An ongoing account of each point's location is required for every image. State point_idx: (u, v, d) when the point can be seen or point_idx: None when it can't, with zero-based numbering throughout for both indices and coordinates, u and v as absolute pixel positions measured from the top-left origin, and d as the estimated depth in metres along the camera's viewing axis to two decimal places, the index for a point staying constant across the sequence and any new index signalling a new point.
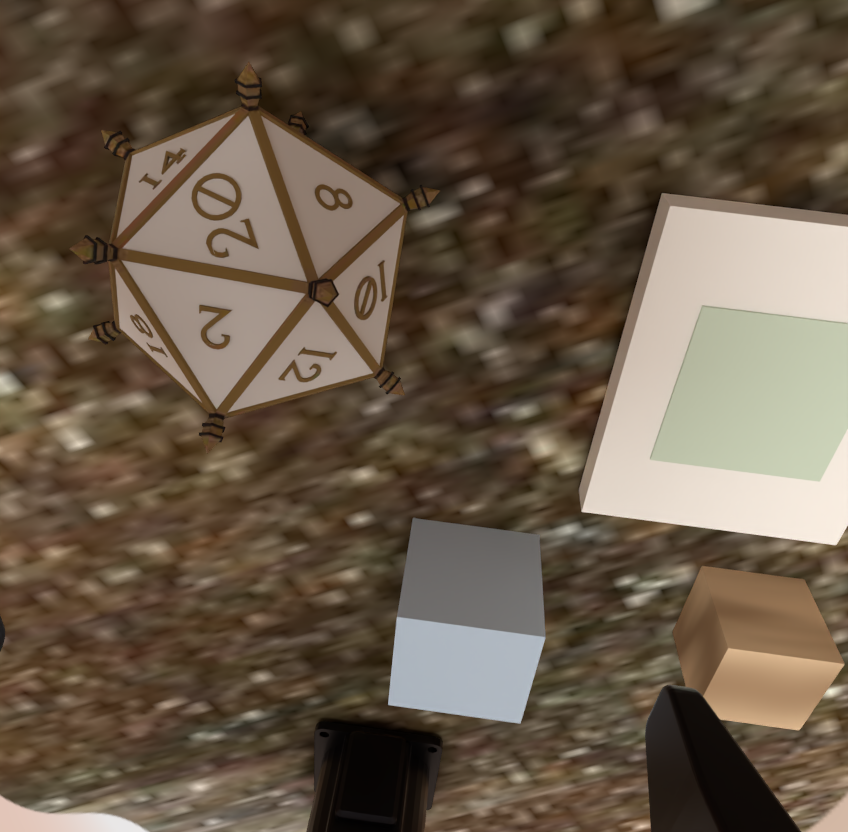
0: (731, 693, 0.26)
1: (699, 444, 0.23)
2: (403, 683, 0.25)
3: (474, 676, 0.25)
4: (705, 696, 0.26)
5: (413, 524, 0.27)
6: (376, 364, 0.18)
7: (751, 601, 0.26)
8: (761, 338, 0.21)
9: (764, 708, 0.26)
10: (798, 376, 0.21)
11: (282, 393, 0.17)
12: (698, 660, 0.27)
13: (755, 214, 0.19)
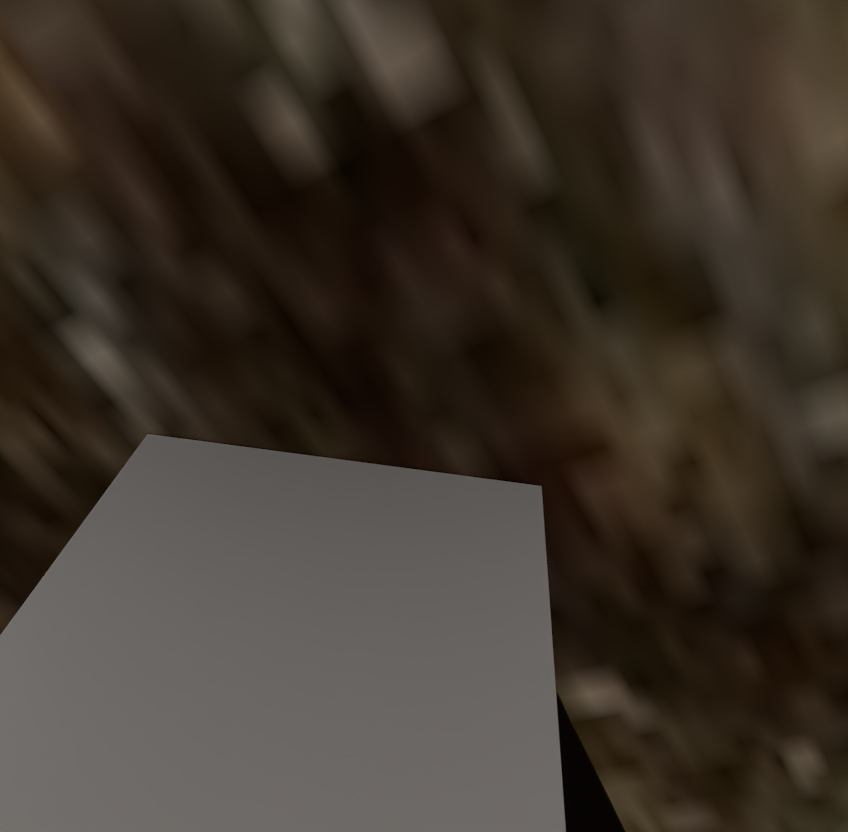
0: None
1: None
2: None
3: None
4: None
5: None
6: None
7: None
8: None
9: None
10: None
11: None
12: None
13: None
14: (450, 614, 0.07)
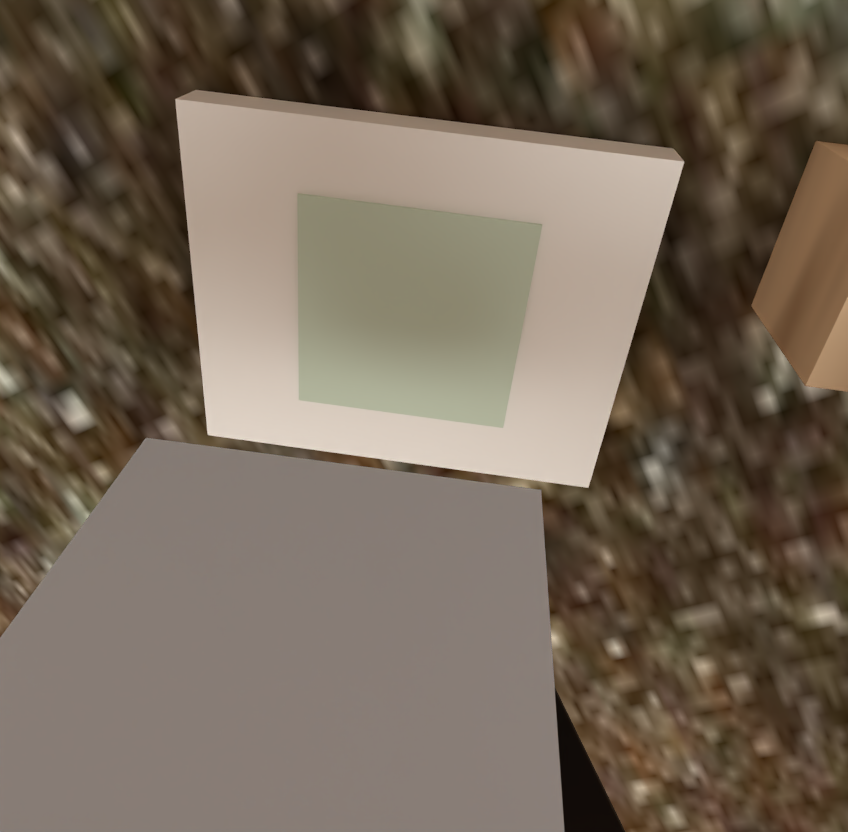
0: None
1: (478, 380, 0.18)
2: None
3: None
4: None
5: None
6: None
7: (795, 274, 0.16)
8: (327, 341, 0.18)
9: None
10: (375, 288, 0.17)
11: None
12: None
13: (202, 363, 0.19)
14: (449, 619, 0.07)
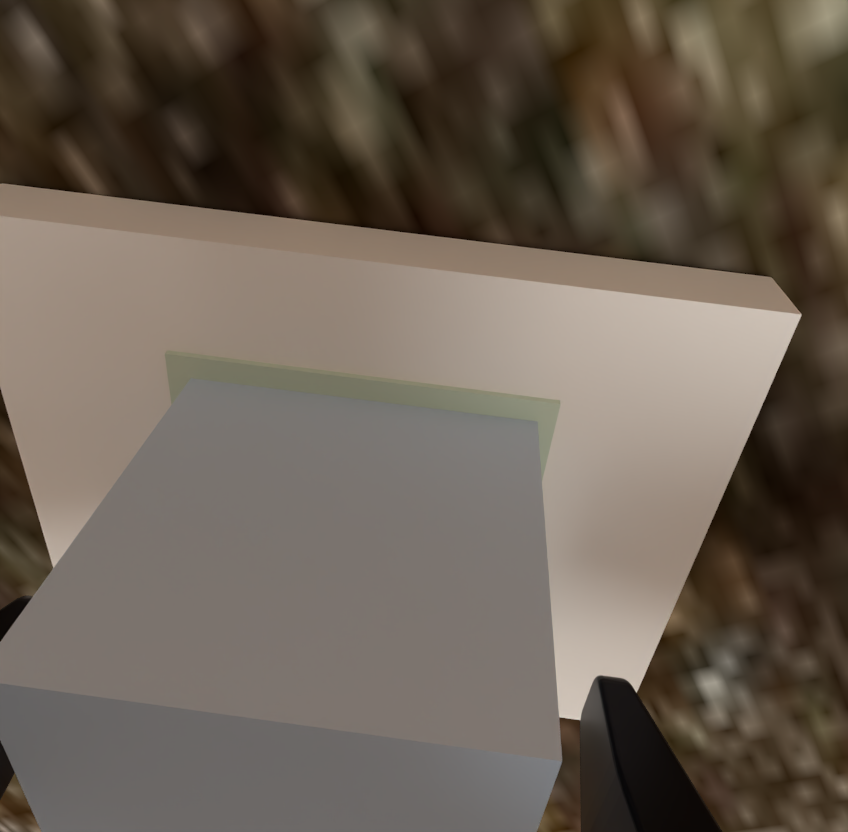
0: None
1: None
2: None
3: None
4: None
5: None
6: None
7: None
8: None
9: None
10: None
11: None
12: None
13: None
14: (459, 517, 0.08)
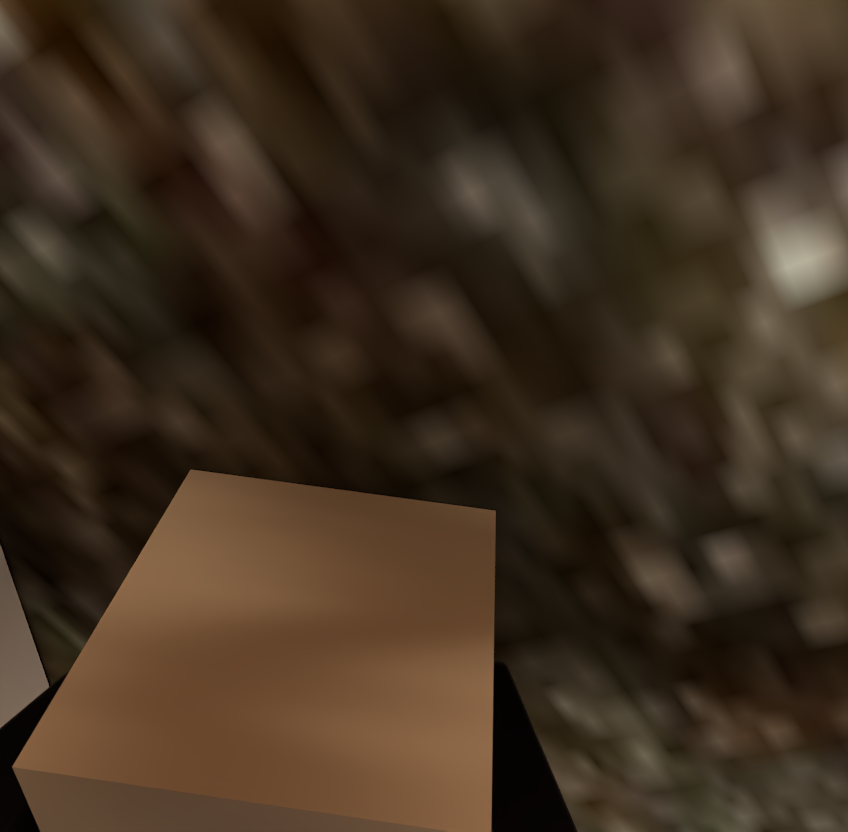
0: None
1: None
2: None
3: None
4: None
5: None
6: None
7: None
8: None
9: None
10: None
11: None
12: None
13: None
14: None
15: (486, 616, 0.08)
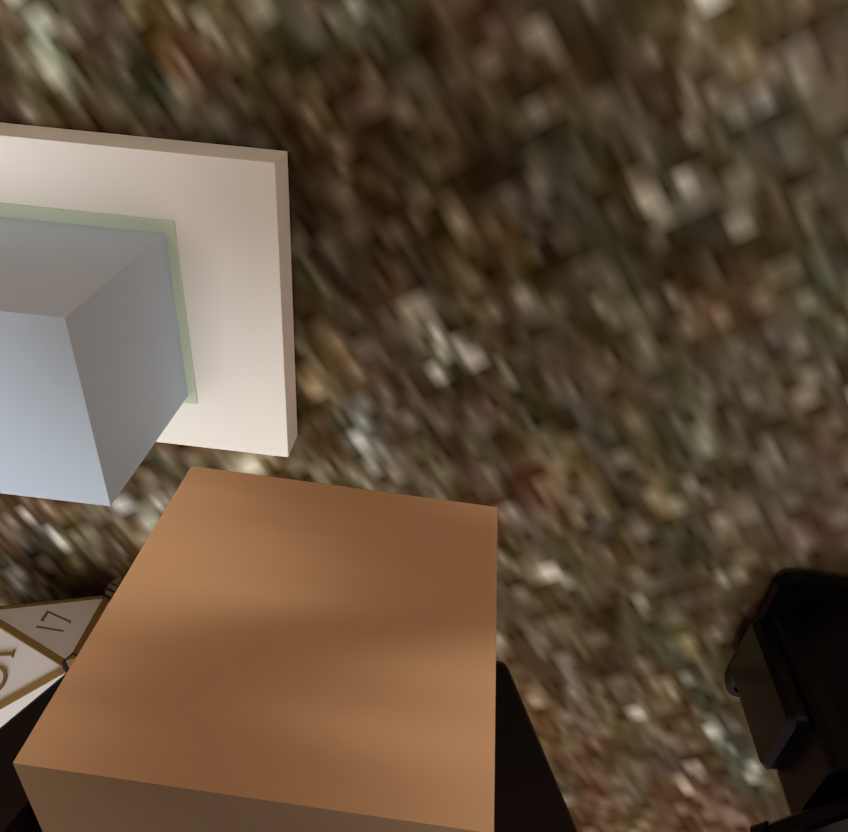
0: None
1: None
2: (47, 483, 0.17)
3: None
4: None
5: None
6: (53, 672, 0.23)
7: None
8: None
9: None
10: None
11: None
12: None
13: None
14: (85, 261, 0.16)
15: (488, 612, 0.08)
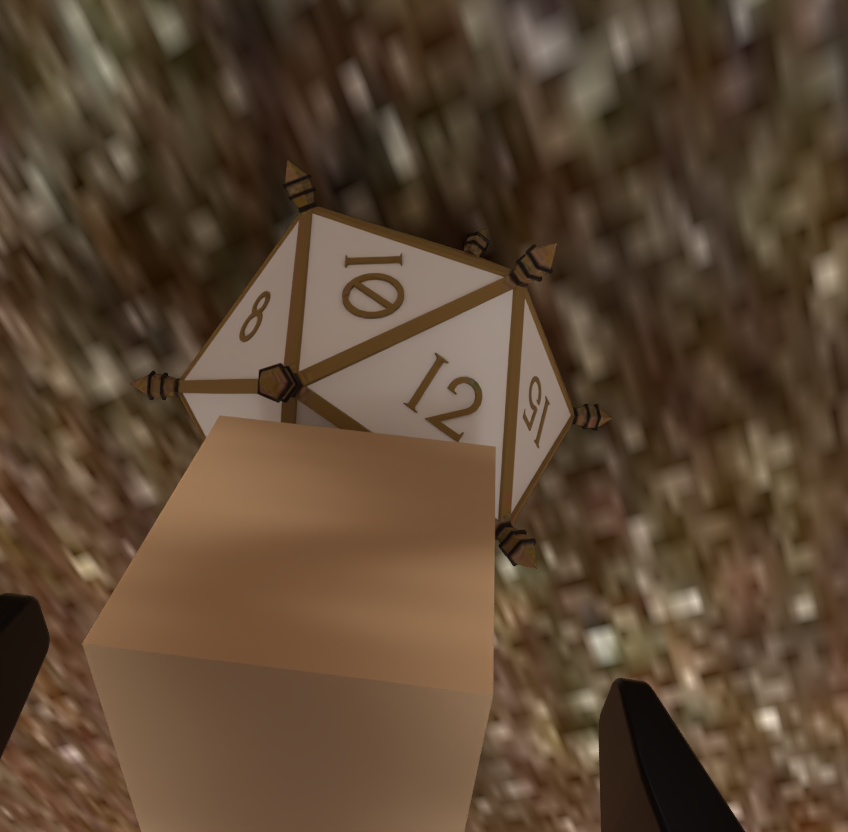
0: None
1: None
2: None
3: None
4: None
5: None
6: (494, 284, 0.12)
7: None
8: None
9: (380, 776, 0.08)
10: None
11: (493, 436, 0.12)
12: None
13: None
14: None
15: (488, 530, 0.09)
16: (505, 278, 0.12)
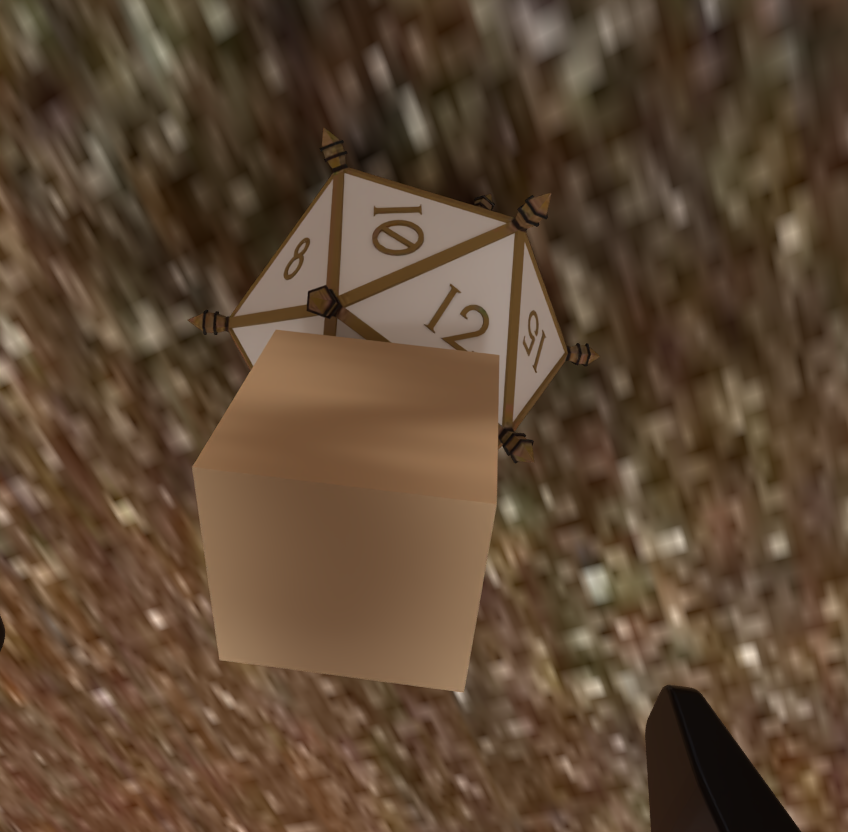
0: (367, 642, 0.11)
1: None
2: None
3: None
4: (388, 678, 0.11)
5: None
6: (499, 228, 0.14)
7: None
8: None
9: (410, 584, 0.10)
10: None
11: None
12: None
13: None
14: None
15: (493, 408, 0.11)
16: (508, 224, 0.14)
